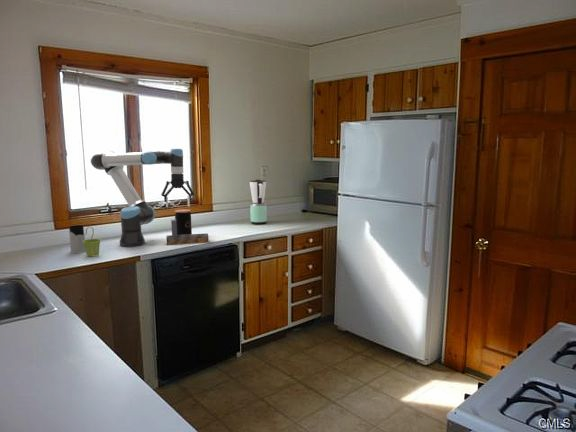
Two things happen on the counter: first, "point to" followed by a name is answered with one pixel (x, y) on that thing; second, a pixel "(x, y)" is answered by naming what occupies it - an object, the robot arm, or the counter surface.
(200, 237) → the block
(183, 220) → the coffee jar
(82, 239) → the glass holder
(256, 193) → the mint green blender
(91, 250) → the plant pot
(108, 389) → the counter surface
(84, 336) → the counter surface
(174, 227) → the fader
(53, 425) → the counter surface
